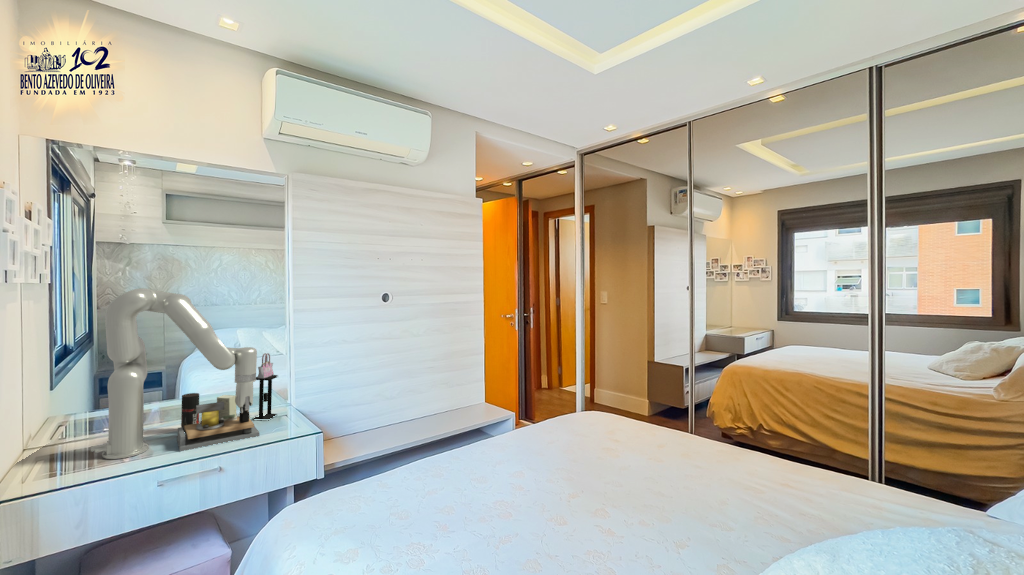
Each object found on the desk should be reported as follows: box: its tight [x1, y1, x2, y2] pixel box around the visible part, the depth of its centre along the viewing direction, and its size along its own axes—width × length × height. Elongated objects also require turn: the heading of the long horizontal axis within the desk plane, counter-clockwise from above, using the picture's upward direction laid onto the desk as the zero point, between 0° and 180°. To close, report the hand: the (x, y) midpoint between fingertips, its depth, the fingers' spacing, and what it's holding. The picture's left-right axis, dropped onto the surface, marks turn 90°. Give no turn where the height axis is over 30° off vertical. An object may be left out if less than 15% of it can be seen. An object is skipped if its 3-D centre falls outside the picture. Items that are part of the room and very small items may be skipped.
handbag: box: [252, 352, 279, 422], centre depth 199 cm, size 10×8×30 cm
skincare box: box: [216, 394, 237, 420], centre depth 190 cm, size 6×4×12 cm
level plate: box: [184, 401, 255, 439], centre depth 174 cm, size 22×14×10 cm, turn 132°
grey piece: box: [176, 425, 260, 452], centre depth 174 cm, size 26×14×5 cm, turn 132°
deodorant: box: [180, 392, 200, 434], centre depth 180 cm, size 6×6×15 cm
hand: (244, 421), depth 178 cm, fingers closed
